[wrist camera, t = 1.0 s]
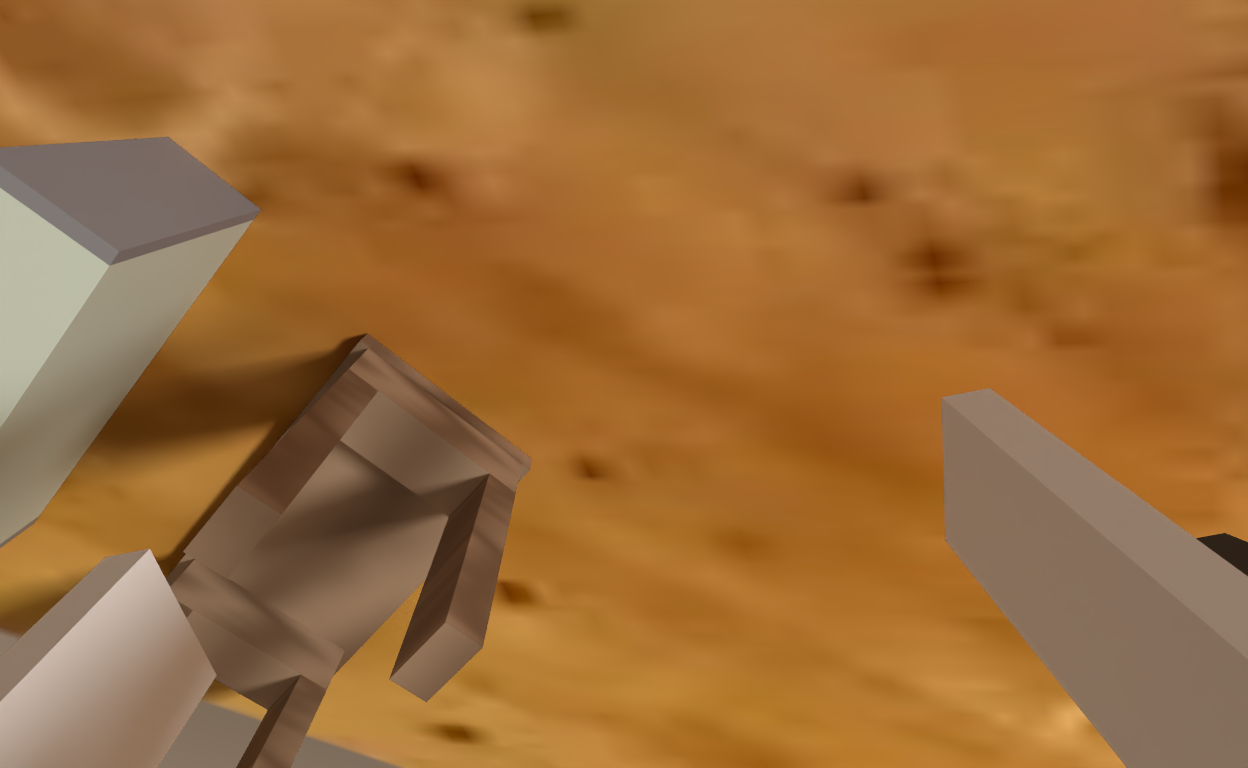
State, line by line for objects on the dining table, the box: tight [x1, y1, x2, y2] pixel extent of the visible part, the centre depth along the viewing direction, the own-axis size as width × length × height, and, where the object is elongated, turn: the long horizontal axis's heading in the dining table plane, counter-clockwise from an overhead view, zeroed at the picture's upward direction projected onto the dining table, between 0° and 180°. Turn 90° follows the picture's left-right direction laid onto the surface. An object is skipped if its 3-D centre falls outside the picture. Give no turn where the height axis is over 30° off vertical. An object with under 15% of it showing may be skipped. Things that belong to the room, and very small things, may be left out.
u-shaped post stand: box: [166, 334, 532, 768], centre depth 31 cm, size 10×18×14 cm, turn 138°
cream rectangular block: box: [0, 137, 261, 548], centre depth 29 cm, size 4×21×10 cm, turn 138°
